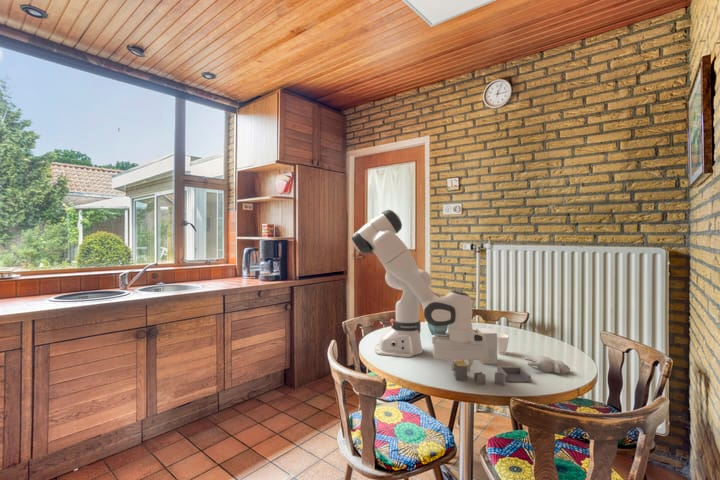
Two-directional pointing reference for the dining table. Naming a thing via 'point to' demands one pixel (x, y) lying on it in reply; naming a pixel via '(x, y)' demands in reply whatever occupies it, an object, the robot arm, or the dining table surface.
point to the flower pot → (437, 329)
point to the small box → (490, 345)
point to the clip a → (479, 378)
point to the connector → (460, 370)
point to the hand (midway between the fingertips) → (460, 370)
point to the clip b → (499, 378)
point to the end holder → (514, 374)
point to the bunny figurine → (548, 365)
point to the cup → (502, 343)
